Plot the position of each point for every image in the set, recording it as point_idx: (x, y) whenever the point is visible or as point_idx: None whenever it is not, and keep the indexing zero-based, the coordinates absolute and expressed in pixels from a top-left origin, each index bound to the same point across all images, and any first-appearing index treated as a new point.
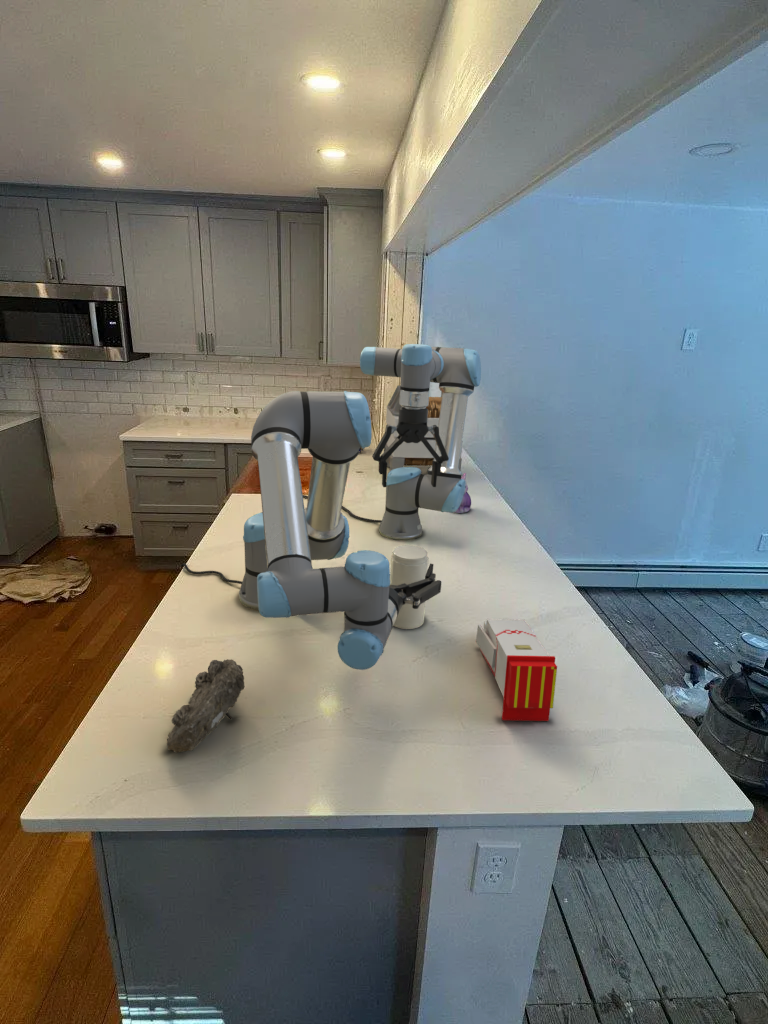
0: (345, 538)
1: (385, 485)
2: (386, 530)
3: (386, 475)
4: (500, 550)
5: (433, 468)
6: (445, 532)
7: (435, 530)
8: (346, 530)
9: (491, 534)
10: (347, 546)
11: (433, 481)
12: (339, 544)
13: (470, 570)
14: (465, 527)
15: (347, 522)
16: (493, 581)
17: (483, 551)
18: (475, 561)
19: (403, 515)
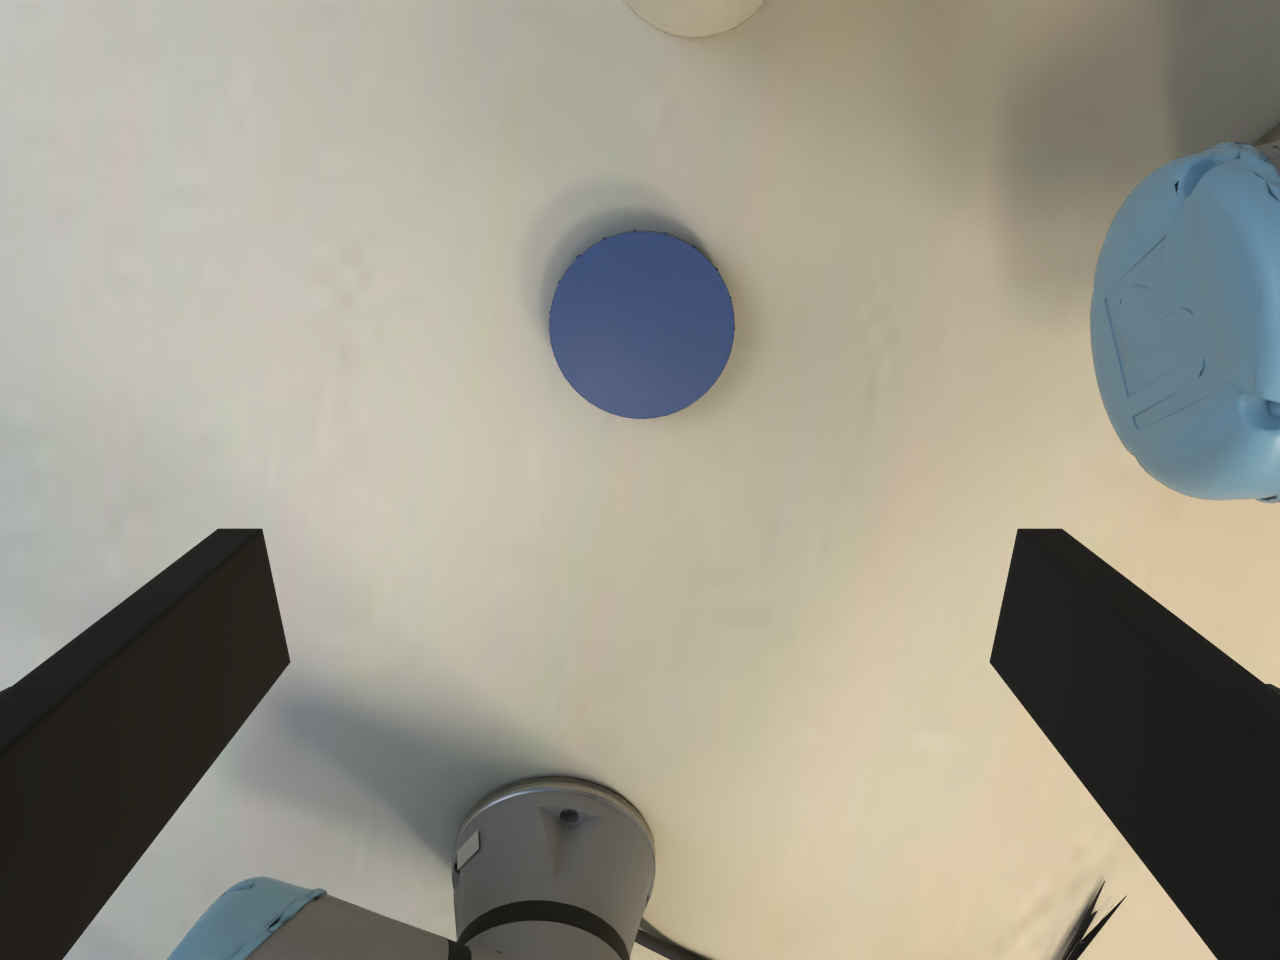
0: (1242, 153)
1: (1045, 541)
2: (631, 835)
3: (1148, 637)
4: None
5: (70, 810)
6: (344, 844)
7: (389, 864)
8: (1274, 186)
9: None
10: (1162, 169)
11: (215, 584)
12: (1256, 146)
13: (270, 464)
14: None
15: (1278, 270)
16: (162, 337)
17: None
18: None
19: (545, 898)
